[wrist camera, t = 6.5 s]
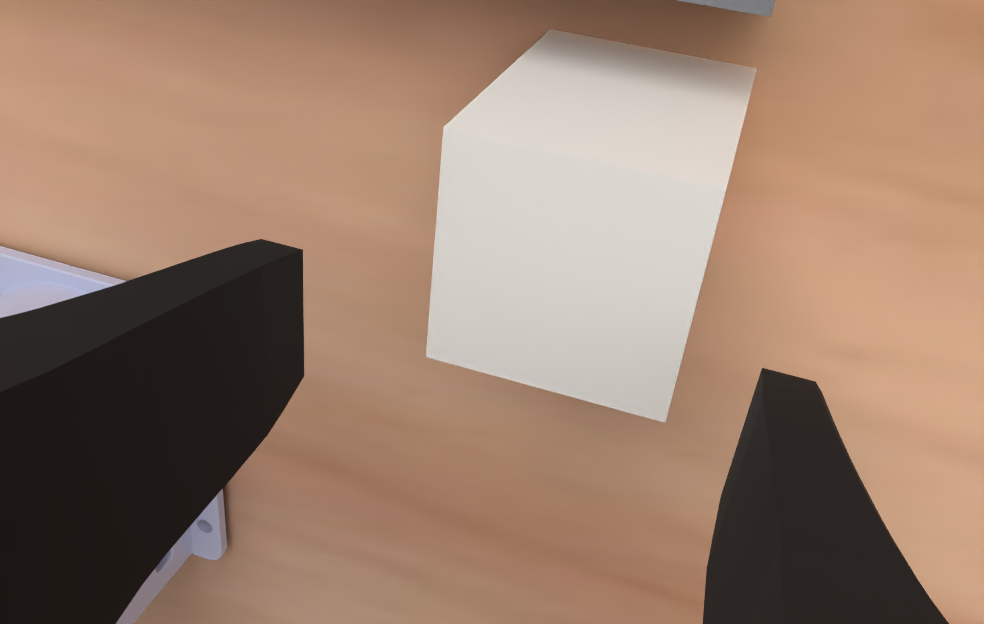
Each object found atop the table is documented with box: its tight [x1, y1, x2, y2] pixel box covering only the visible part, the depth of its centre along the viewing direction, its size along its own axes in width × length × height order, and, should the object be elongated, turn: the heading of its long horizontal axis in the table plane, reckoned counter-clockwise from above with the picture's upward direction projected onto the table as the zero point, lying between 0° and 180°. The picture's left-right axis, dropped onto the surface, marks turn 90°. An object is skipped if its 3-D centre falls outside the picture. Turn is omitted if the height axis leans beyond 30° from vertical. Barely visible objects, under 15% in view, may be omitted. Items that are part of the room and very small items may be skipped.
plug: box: [426, 29, 757, 423], centre depth 16 cm, size 4×4×6 cm
